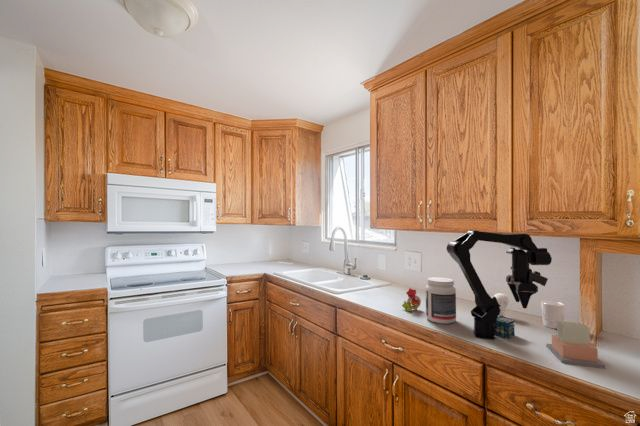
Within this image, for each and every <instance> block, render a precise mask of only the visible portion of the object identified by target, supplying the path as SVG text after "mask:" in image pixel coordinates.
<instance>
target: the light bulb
mask: <svg viewBox="0 0 640 426" xmlns="http://www.w3.org/2000/svg"><path fill="white" fill-rule="evenodd" d="M493 296H495V297H496V299H497V302H498V304H499V305H500V306H501V307H500V311H501V312H500V314H499V315H498V317H505V312H506V309H507V307H508V306H509V303H510V299H509V297H508V296H507V295H506V294H505V293H503V292H502V293H501V292H497V293H495V294H494V295H493Z"/></svg>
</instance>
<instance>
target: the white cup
mask: <svg viewBox="0 0 640 426" xmlns="http://www.w3.org/2000/svg"><path fill="white" fill-rule="evenodd" d="M540 304H541V316H542V317H541V318H542V325H543V326H544V327H546V328H549V329H554V330H557V321H562V322H565V321H564V320H565V304H564V303H563V302H559V301H554V300H542V301H540Z"/></svg>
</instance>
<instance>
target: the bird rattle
mask: <svg viewBox="0 0 640 426" xmlns="http://www.w3.org/2000/svg"><path fill="white" fill-rule="evenodd" d="M406 295H407V297H408V298H407V300H404V301H403V303H402V305H401V306H402V308H403V309H404V310H405V311H408V312H411V313H412V312H413V310H415V311H418V308H419V307H420V306H421V303H422V300H421V297H419V295H417V290H416V289H414V288H413V289H412V288H411V287H410V288H408V291H406Z"/></svg>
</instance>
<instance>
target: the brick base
mask: <svg viewBox="0 0 640 426" xmlns="http://www.w3.org/2000/svg"><path fill="white" fill-rule="evenodd" d="M545 345H546V347H545V348H547V349H548V350H549V351H550V352H551V353H552V354H553V355H554V356H555V357H556V358H557V359H558V360H559V361H560V363H562V364H563V363H564V364H568V365H569V364H570V365H578V366H585V367H593V368H598V369H599V368H600V369H606V364H604V362H602V360H599V359H598V356H599V355H598V353H599V352H598V348H597V347H596V346H594V345H593V344H592V343H590V346H589V345H580V344H572V343H563V342H562V341H561V340H560V339H559V338H558V334H551V343H546V344H545Z"/></svg>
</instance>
